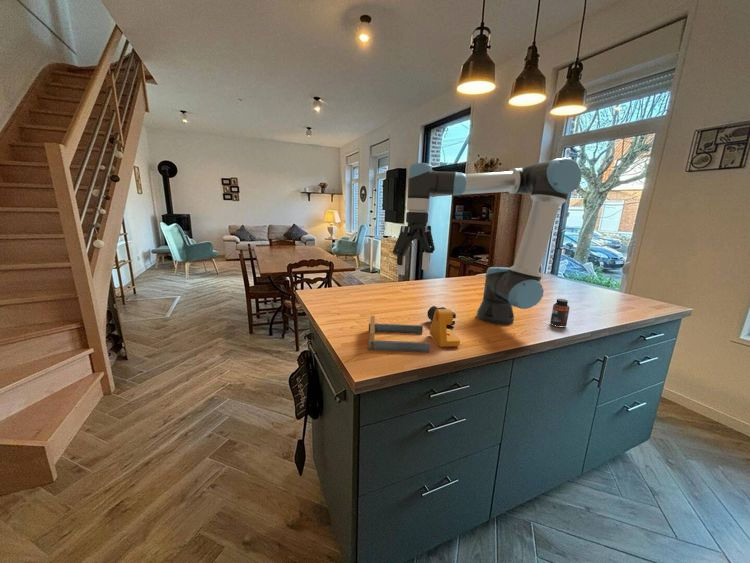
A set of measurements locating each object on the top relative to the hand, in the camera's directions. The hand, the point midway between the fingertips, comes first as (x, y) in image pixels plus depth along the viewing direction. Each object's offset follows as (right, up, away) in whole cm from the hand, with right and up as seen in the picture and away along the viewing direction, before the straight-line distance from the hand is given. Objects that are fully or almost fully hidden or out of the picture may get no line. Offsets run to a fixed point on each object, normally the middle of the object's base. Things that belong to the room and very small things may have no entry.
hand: (413, 272), depth 108 cm
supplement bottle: (+64, -22, +19) cm, 70 cm away
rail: (-6, -24, -3) cm, 25 cm away
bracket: (+11, -25, -2) cm, 27 cm away
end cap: (+13, -21, +14) cm, 29 cm away
